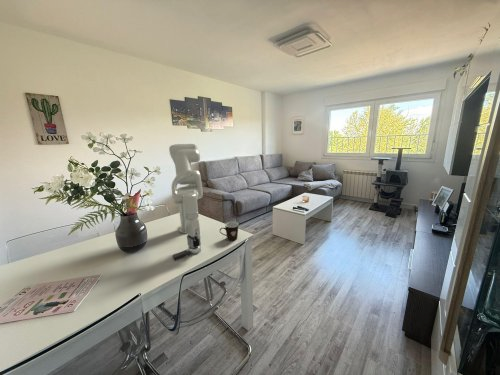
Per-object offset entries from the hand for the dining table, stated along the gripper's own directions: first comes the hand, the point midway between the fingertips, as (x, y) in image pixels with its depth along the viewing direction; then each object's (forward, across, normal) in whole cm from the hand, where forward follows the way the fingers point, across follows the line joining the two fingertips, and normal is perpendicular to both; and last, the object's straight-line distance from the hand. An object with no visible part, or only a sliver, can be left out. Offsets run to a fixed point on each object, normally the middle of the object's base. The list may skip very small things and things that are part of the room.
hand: (194, 244), depth 118 cm
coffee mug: (+5, +2, +24) cm, 25 cm away
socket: (+1, 0, 0) cm, 1 cm away
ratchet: (+5, 0, -4) cm, 6 cm away
